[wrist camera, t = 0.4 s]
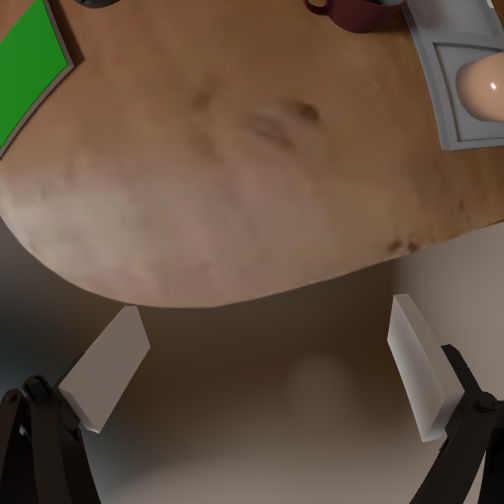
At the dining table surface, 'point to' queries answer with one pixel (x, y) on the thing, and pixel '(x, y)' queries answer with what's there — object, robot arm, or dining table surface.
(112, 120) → the dining table surface
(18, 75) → the book
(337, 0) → the mug
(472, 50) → the holder
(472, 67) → the peach rounded cylinder
